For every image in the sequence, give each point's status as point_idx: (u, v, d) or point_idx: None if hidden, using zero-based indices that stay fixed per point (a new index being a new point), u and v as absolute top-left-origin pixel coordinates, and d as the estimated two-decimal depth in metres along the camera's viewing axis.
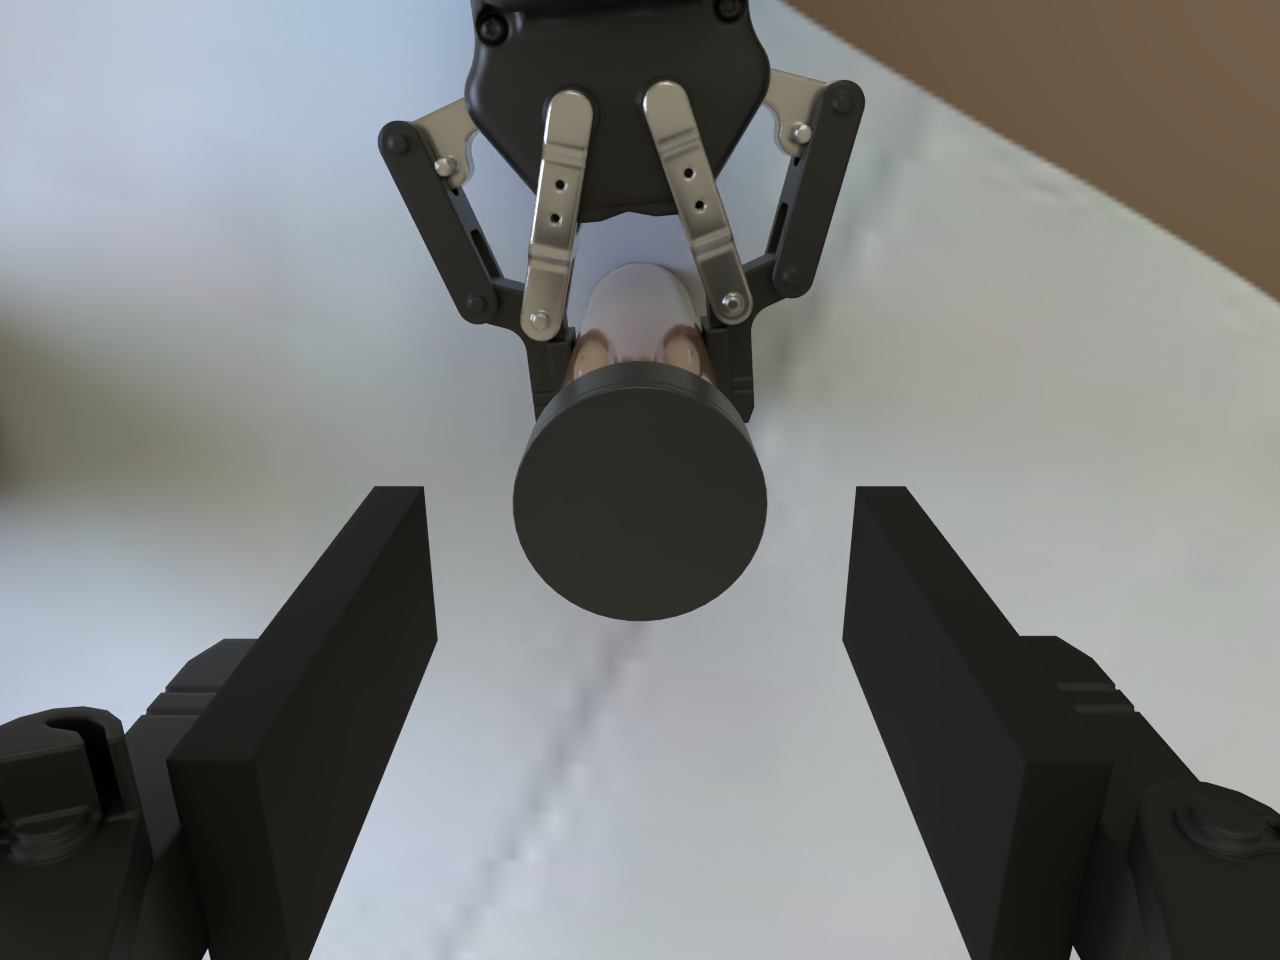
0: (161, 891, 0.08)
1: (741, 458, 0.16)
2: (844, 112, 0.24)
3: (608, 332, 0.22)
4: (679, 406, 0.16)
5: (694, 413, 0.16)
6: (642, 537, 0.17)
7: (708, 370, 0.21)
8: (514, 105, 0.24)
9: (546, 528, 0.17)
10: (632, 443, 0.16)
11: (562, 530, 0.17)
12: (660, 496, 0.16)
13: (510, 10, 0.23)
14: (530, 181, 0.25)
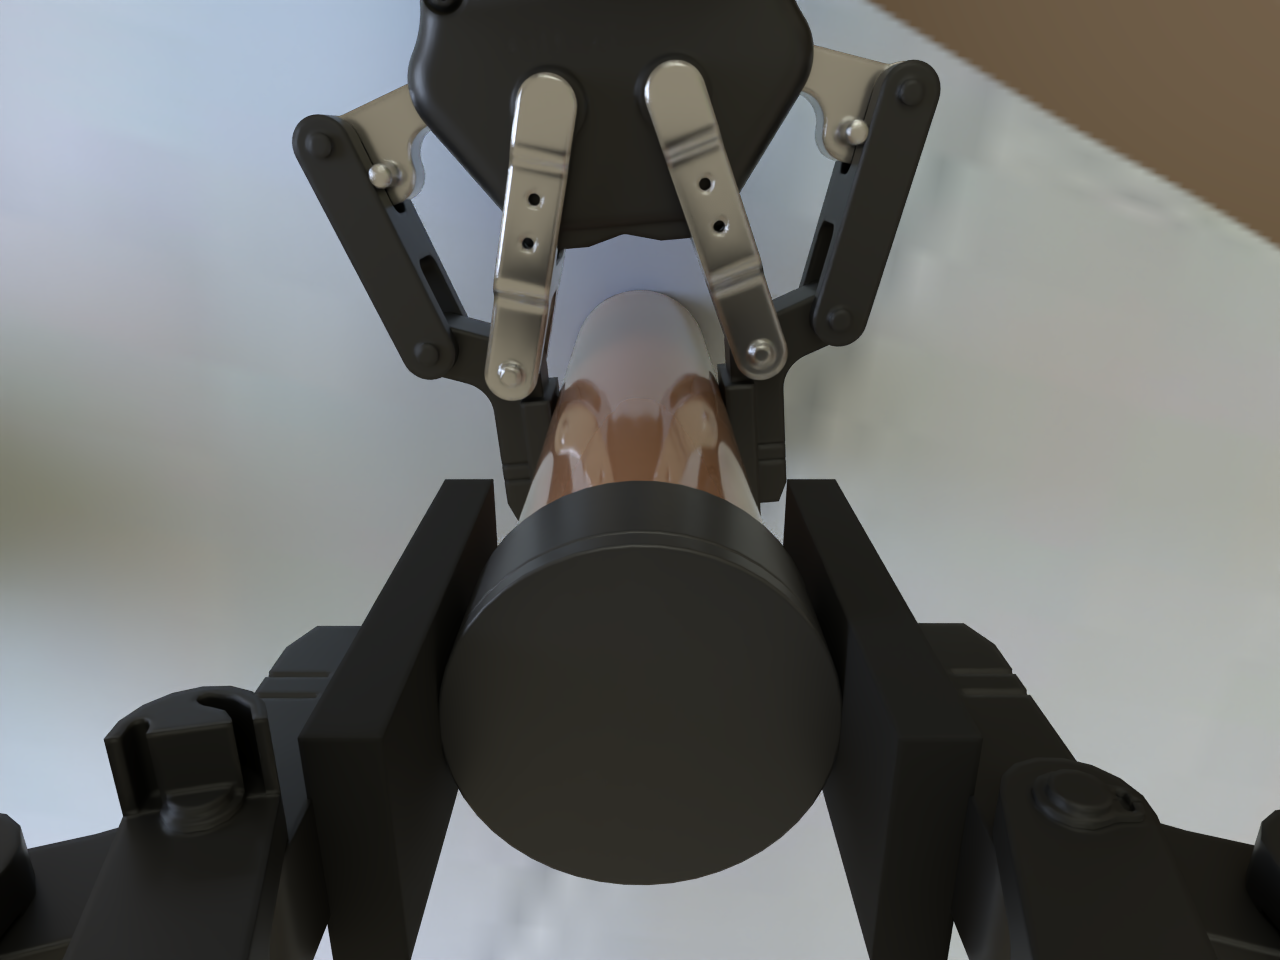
0: (294, 870, 0.08)
1: (804, 653, 0.10)
2: (913, 103, 0.18)
3: (596, 406, 0.16)
4: (705, 575, 0.10)
5: (729, 586, 0.10)
6: (644, 768, 0.11)
7: (736, 464, 0.15)
8: (473, 94, 0.18)
9: (492, 755, 0.10)
10: (628, 631, 0.10)
11: (517, 758, 0.10)
12: (674, 709, 0.10)
13: None
14: (496, 194, 0.19)
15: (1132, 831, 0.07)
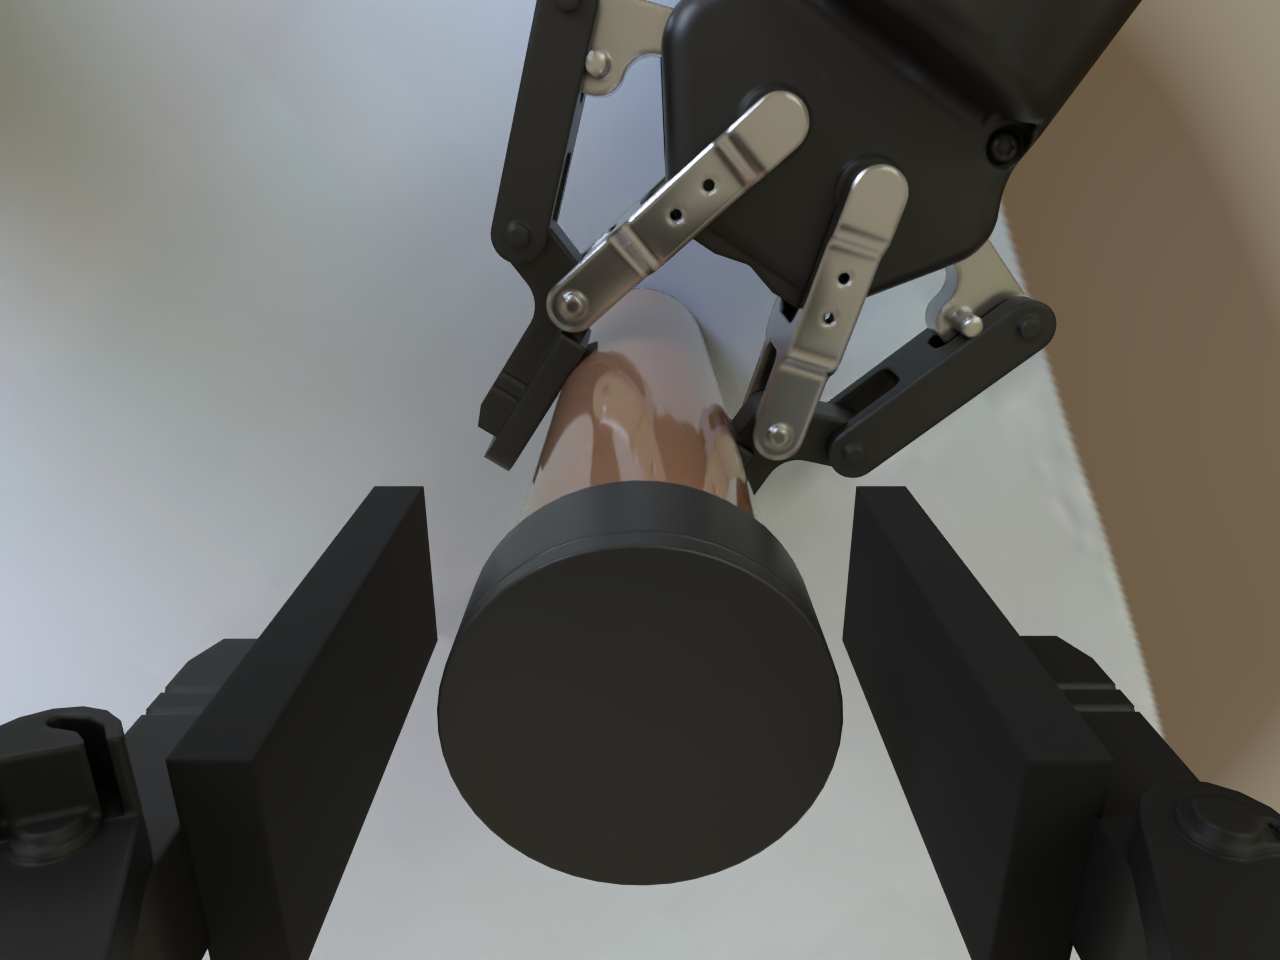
0: (161, 891, 0.08)
1: (696, 574, 0.10)
2: (1026, 337, 0.20)
3: (670, 397, 0.16)
4: (558, 581, 0.10)
5: (583, 574, 0.10)
6: (676, 755, 0.10)
7: None
8: (722, 63, 0.18)
9: (558, 831, 0.11)
10: (551, 666, 0.10)
11: (578, 819, 0.11)
12: (647, 694, 0.10)
13: None
14: (675, 154, 0.19)
15: None
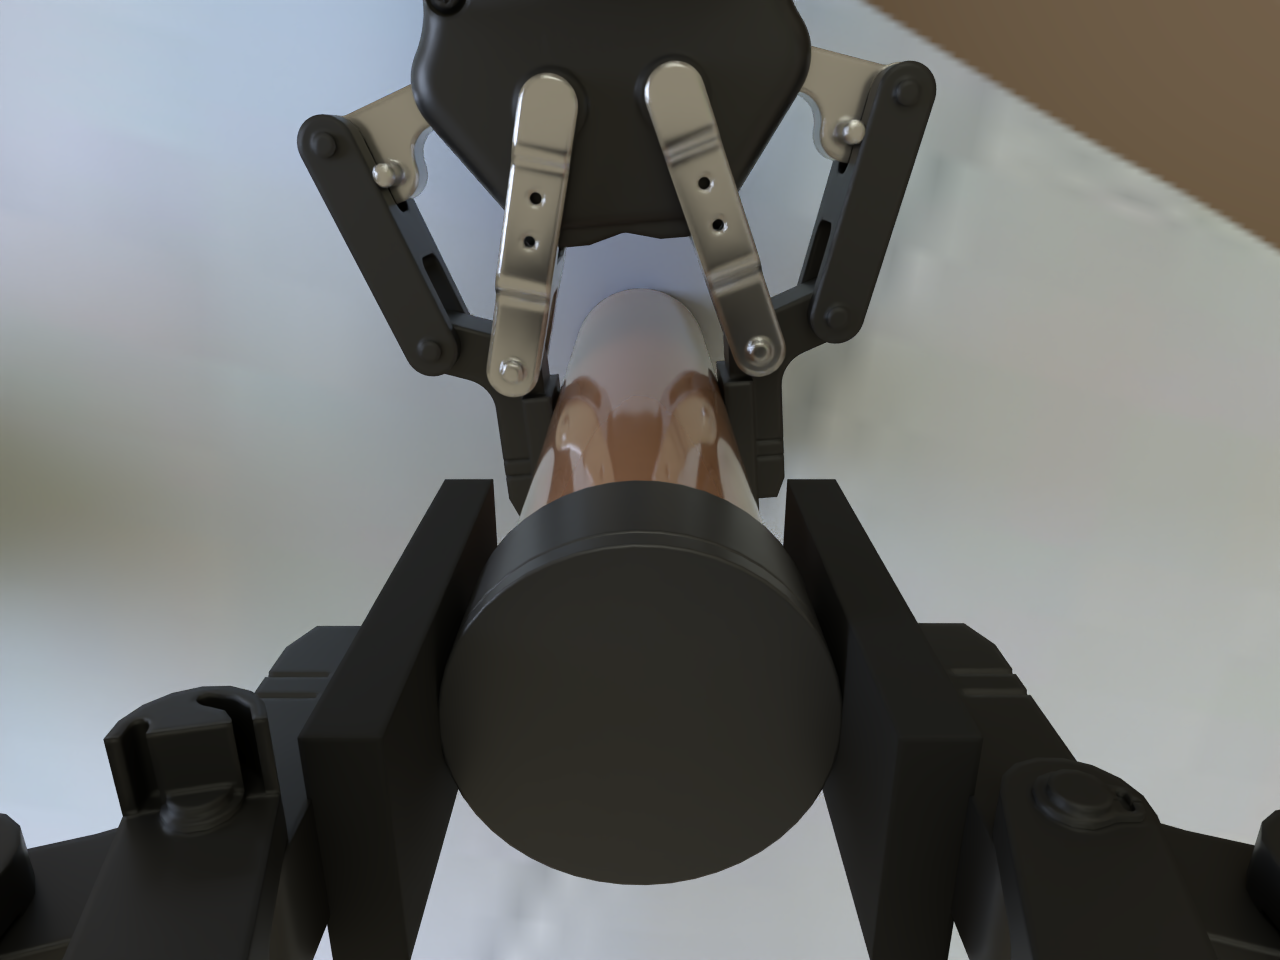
0: (294, 870, 0.08)
1: (571, 578, 0.10)
2: (909, 103, 0.18)
3: (597, 401, 0.16)
4: (473, 656, 0.10)
5: (486, 638, 0.10)
6: (688, 731, 0.10)
7: (734, 458, 0.15)
8: (475, 94, 0.19)
9: (650, 850, 0.11)
10: (528, 725, 0.10)
11: (657, 831, 0.11)
12: (621, 697, 0.10)
13: None
14: (498, 193, 0.20)
15: (1132, 831, 0.07)
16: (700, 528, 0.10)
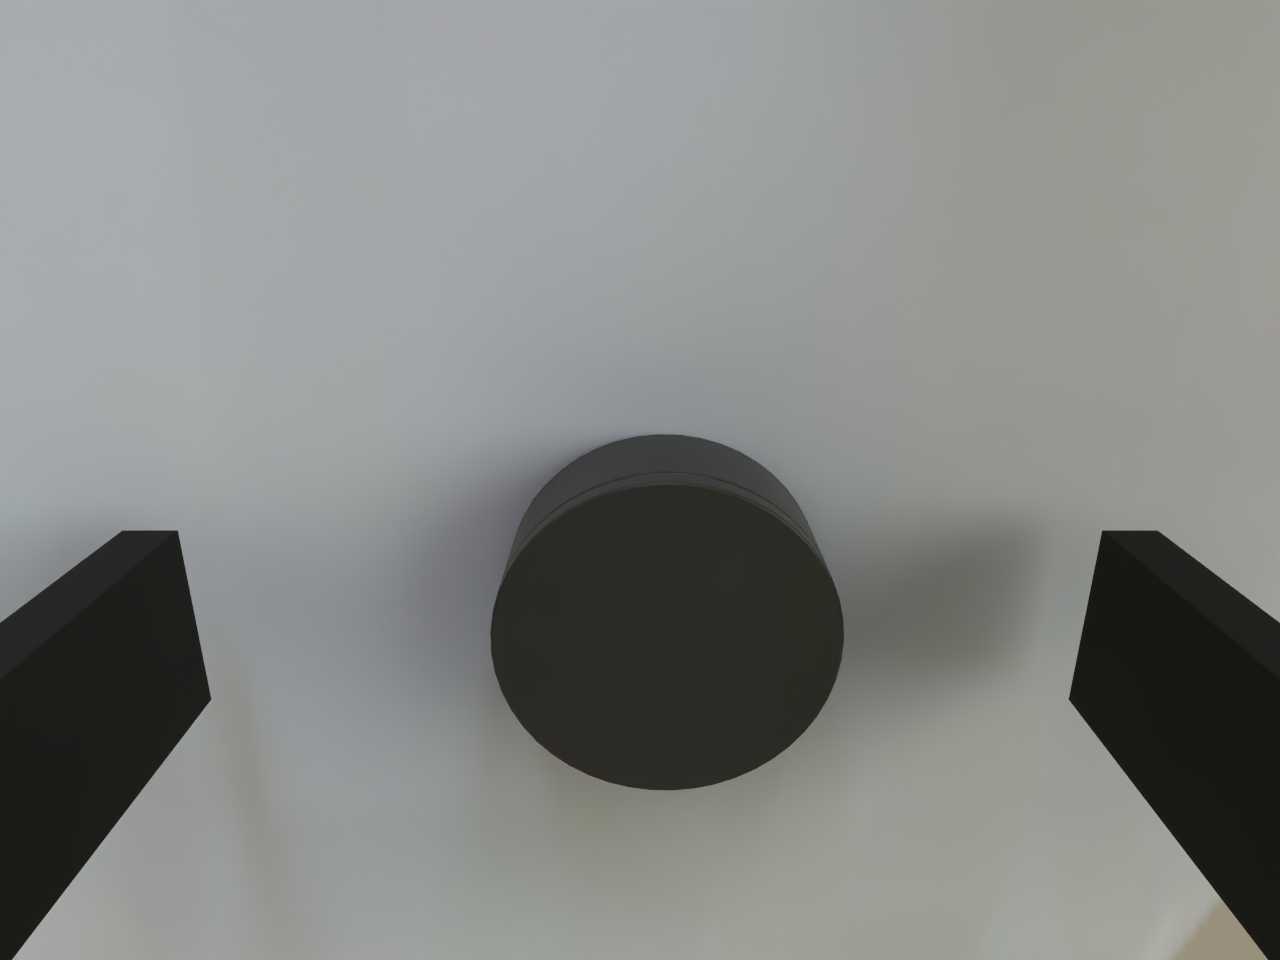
0: None
1: (608, 512, 0.11)
2: None
3: None
4: (523, 583, 0.12)
5: (534, 566, 0.11)
6: (709, 649, 0.12)
7: None
8: None
9: (675, 758, 0.12)
10: (569, 644, 0.12)
11: (681, 740, 0.12)
12: (650, 620, 0.12)
13: None
14: None
15: None
16: (718, 471, 0.12)
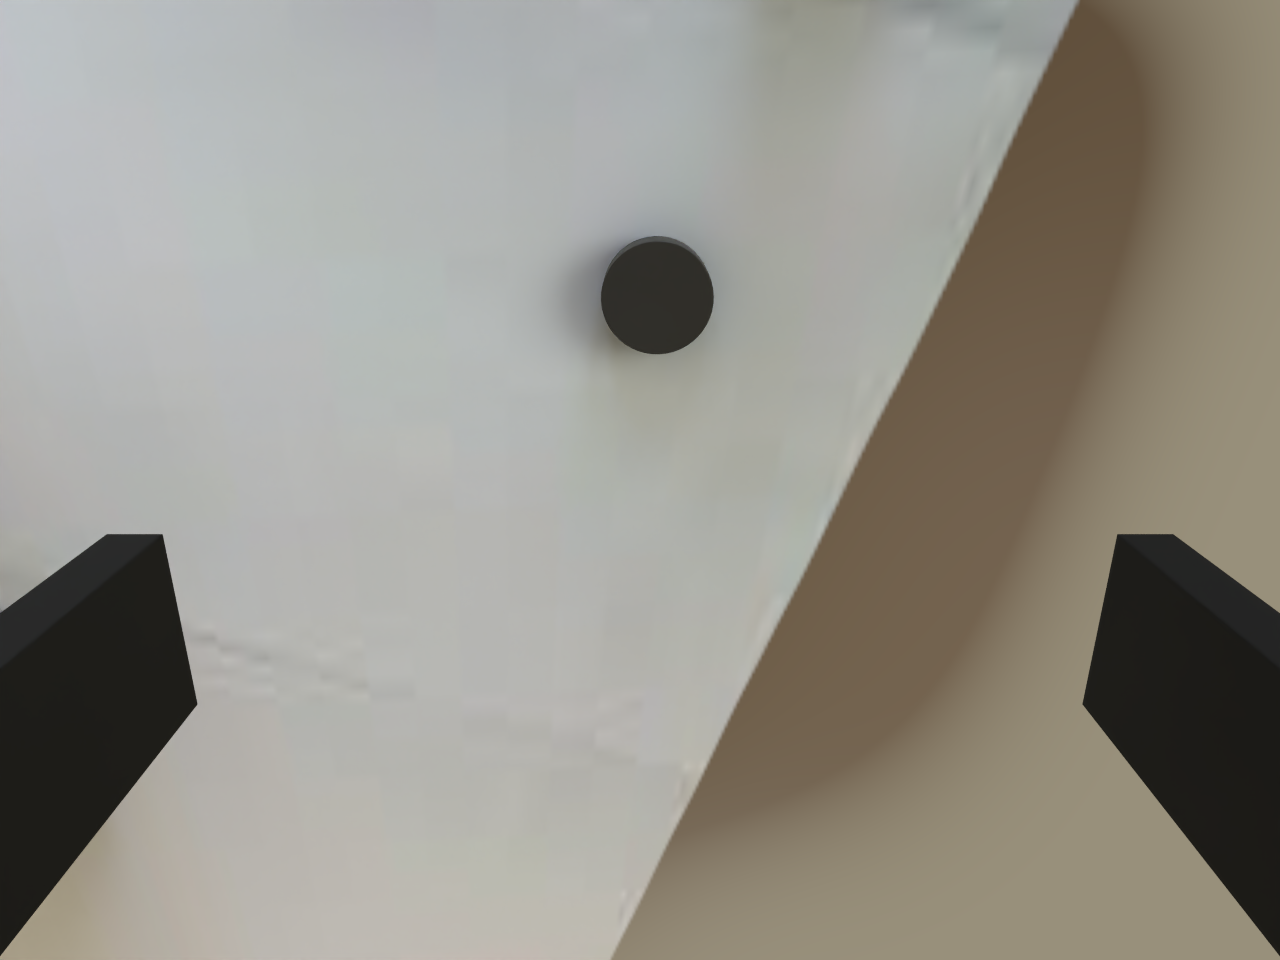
0: None
1: (639, 251, 0.37)
2: None
3: None
4: (612, 275, 0.37)
5: (616, 269, 0.37)
6: (670, 299, 0.37)
7: None
8: None
9: (660, 340, 0.38)
10: (626, 298, 0.37)
11: (662, 334, 0.38)
12: (652, 288, 0.37)
13: None
14: None
15: None
16: (673, 241, 0.37)
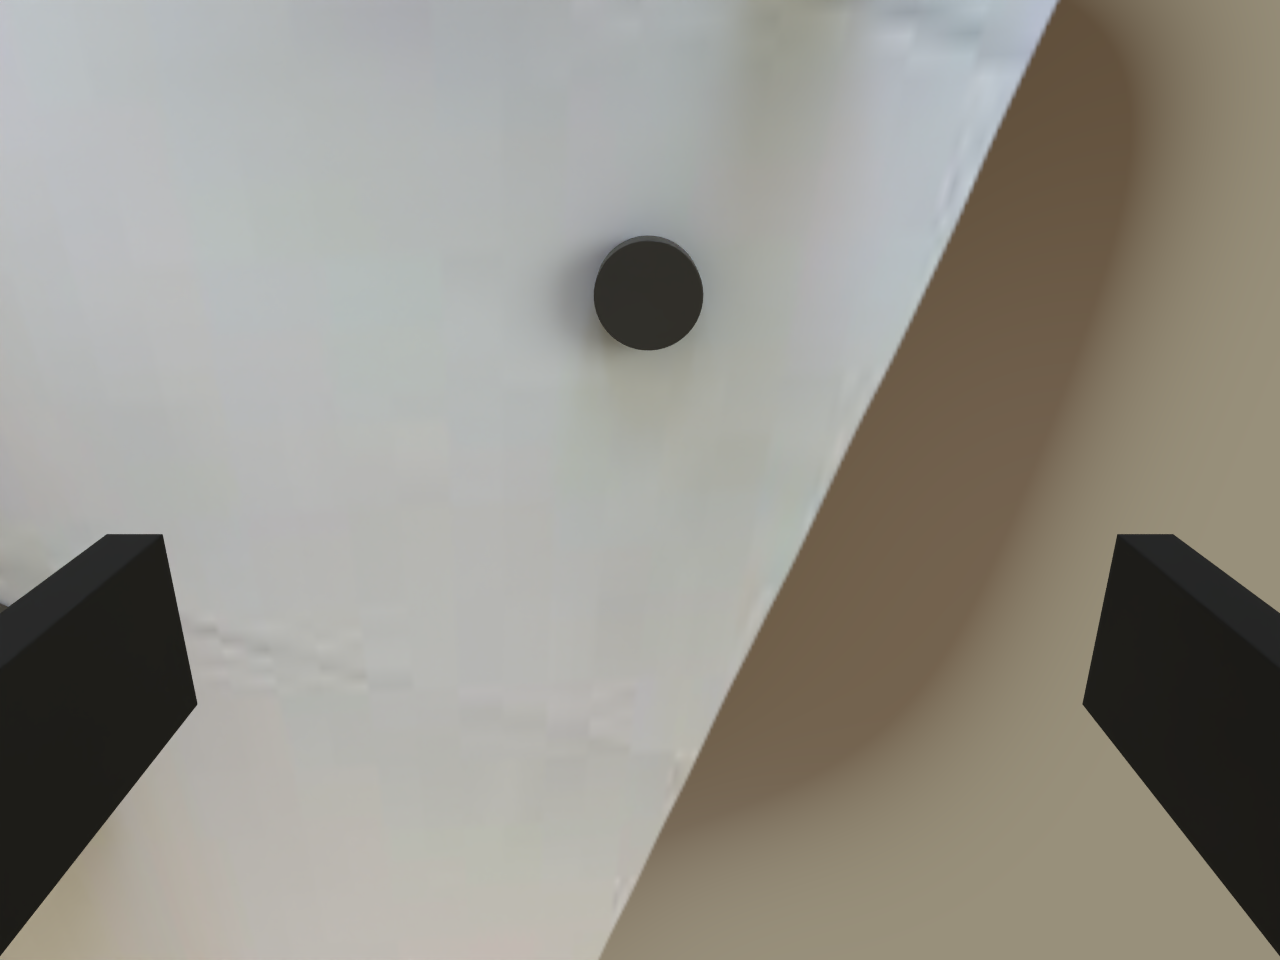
0: None
1: (630, 250, 0.38)
2: None
3: None
4: (604, 274, 0.38)
5: (608, 268, 0.38)
6: (661, 297, 0.38)
7: None
8: None
9: (651, 337, 0.39)
10: (618, 295, 0.38)
11: (653, 330, 0.39)
12: (643, 286, 0.38)
13: None
14: None
15: None
16: (664, 241, 0.38)
